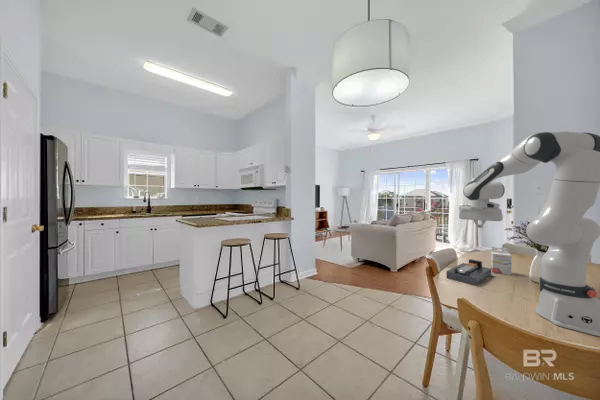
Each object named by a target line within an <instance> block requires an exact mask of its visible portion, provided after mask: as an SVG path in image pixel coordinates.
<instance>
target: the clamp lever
mask: <svg viewBox="0 0 600 400" xmlns="http://www.w3.org/2000/svg"><path fill="white" fill-rule="evenodd" d="M466 264H467V265H465V266H464V267H462V268H460V269H457V272H458V273H462V274H466V271H468V270H469V271H470V272H471V271H473V270H474V269H476V268H478V264H476V263H471V262H470V263H469V262H468V263H466Z"/></svg>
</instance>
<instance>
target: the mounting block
mask: <svg viewBox="0 0 600 400" xmlns="http://www.w3.org/2000/svg"><path fill="white" fill-rule="evenodd" d="M470 262H471V263H476V264H478V268H476V269H474V270H473V271H471V272H470V271H469V270H468V271H466V274H462V273H458V272H457V269H460V268H462V267H464V266H465V265H467V264H468V263H470ZM468 263H465V262H462V263H460V264H458V265H456V266H454V267H452V268H450V269H448V270H446V279H449V280H452V281H456V282H461V283H465V284H468V285H471V286H476V287H477V286H478V285H480V284H481V283H483V282H484V281H485V280H487V279H489V278H491V276H492V271H491V267H484V266H483V261H482V260H476V259H471V258H470V259H468ZM488 277H489V278H488Z"/></svg>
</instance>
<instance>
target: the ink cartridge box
mask: <svg viewBox="0 0 600 400" xmlns="http://www.w3.org/2000/svg"><path fill="white" fill-rule="evenodd" d="M490 255H491V256H490V259H491V260H490V264H491V265H490V268H491V270H492V271H491V273H493V272H495V273H494V274H500V273H503V275H510V276H512V260H513V259H512V254H511V253H510V249H509V248H508V247H507V248H506V247H495V246H492V247H491V253H490Z"/></svg>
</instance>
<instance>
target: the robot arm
mask: <svg viewBox="0 0 600 400" xmlns="http://www.w3.org/2000/svg"><path fill="white" fill-rule="evenodd" d="M541 162H542V163H544V164H547V163H549V162H552V163H553V164H554V166H555V171H554V174H553V179H552V182H551V186H550V190H549V193H548V197H547V200H546V201H545V204H544V205H543V207H542V209H541V210H540V212H539V213H538V215H537V216H536V217H535V218H534V219H533V220H532V221H530V222H529V223H528V225H526V228H525V233H526V235H527V238H528V239H529V240H530V241H532V242H533V243H535V244H537V245H541V246H546V247H548V249H547V250H546V252H545V253H544V254H543V255H542V257H541V260H540V262H541V263H540V267H541V269H540V272H541V273H540V277H539V279H538V280H539V282H538V286H539V287H538V288H539V291H540V293H539V299H538V302H537V306H536V308H535V313H537V315H539V316H540V317H542V318H544V319H546V320H548V321H550V322H551V323H552V324H554V325H556V326H557V327H561V328H565V329H570V330H573V331H577V332H581V333H583V334H584V333H585V334H588V335H593V336H597V337H600V299H598V298H597V296H598V294H597V292H596V289H595V287H593V286H592V287H591V286H590V285H588V284H587V264H588V260H589V257H590V254H591V252H592V250H593V249H592V248H593V246H594V243H595V242H596V240H597V239H599V238H600V225H599V223H598V222H596V221H595V220H593V219H590V218H587V217H584V216H585V214H586V213H587V212H588V211H589V209H590V208H591V207H594V205H595V204H596V200H597V198H598V197H597V196H598V193H599V189H600V135H599V134H596V133H593V132H592V133H591V132H574V131H573V132H572V131H552V132H549V131H543V132H535V133H532V134H529V136H527V137H526V138H524V139H523V140H522V141H521V142H520V143H519V144H517V145H516V146H515V147H514V148H513V149H512V150H511V151H510V152H509V153H508V154H507V155H505V156H504V157H503V158H501V159H499V160H498V161H496V162H495V163H493V164H491V165H490V166H489V167H487V168H486V169H485V170H484V171H483V172H482V173H480V174H479V175H478V176H477V177H474V178H472V179H470V181H469V182H468V183H466V185H464V187H463V188H462V189H463V191H462V192H463V193H462V194H463V195H464V197H465V198H467V199H468V200H469V204H465V203H463V204H460V205H459V207H458V212H459V213H458V218H459V219H460V220H467V221H468V220H469V221H473V223H474V224H475V227H476V228H477V229H484V225H485V224H486V222H502V221H503V219H504V218H503V217H504V216H503V215H504V214H503V211H502V209H501V208H500V206H501V205H500V204H499V203H498V202H497V203H496V202H492V201H490V200H497V199H501V198H502V197H504V194H505V193H506V191H505V189H506V188H505V186H504V185H503V183H501V182H500V181H495V180H496V179H500V178H502V177H508V176H513V175H518V174H524V173H527V172H529V171H531V170H533V169H534V168H535V167H536V166H537V165H538V164H540V163H541ZM478 221H481V224H479V223H478Z"/></svg>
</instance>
